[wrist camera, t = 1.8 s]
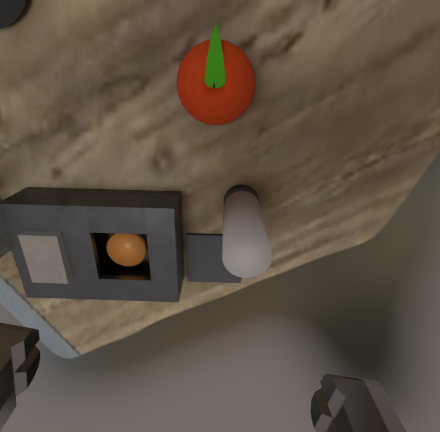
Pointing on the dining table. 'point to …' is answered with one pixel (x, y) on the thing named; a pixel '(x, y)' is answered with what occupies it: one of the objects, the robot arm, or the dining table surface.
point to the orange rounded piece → (127, 248)
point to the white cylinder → (244, 234)
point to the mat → (207, 259)
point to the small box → (3, 240)
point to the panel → (85, 242)
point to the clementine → (215, 81)
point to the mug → (10, 11)
